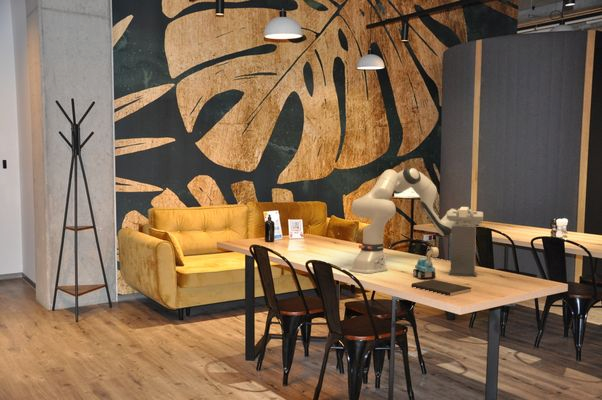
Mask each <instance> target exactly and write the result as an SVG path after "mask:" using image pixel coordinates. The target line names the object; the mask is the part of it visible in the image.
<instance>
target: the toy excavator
mask: <svg viewBox="0 0 602 400" xmlns="http://www.w3.org/2000/svg"><path fill="white" fill-rule="evenodd" d="M439 255H440V253H439V248H438V247H436V246H435V247H434V246H433V247H432V246H431V247H430V250H428V251H427V252H426V257H423V258H422V257H420V258H418V259H417V262H416V265H415V267H414V269H413V270H412V275H413V277H416V278H418V279H419V280H423V279H424V278H427V279H428V278H430V279H436V267H435V266H434V263H433V262H432V258H438V257H439Z"/></svg>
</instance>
